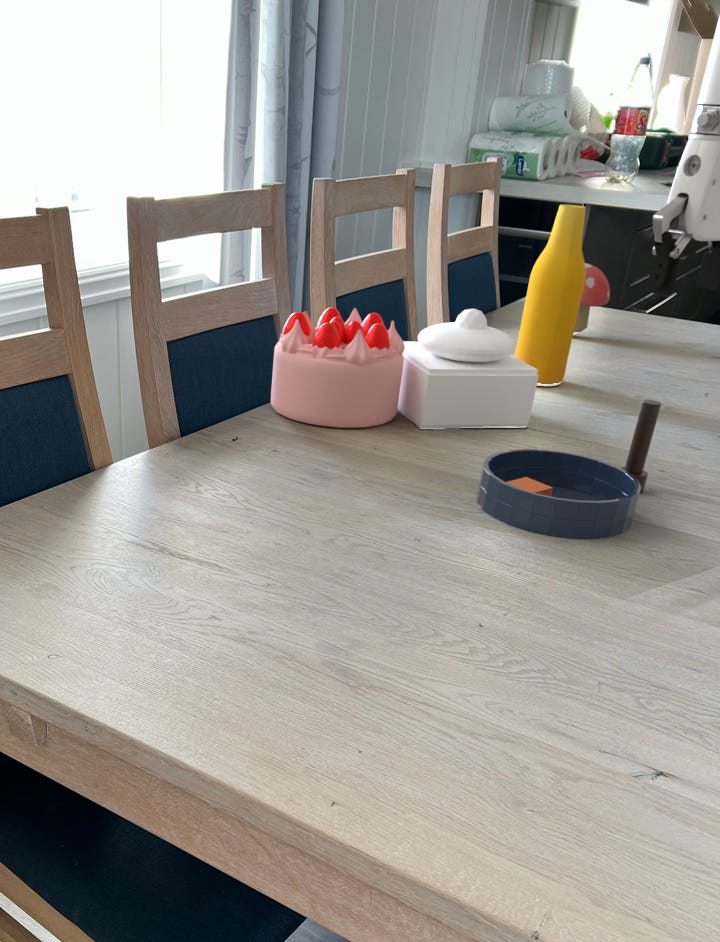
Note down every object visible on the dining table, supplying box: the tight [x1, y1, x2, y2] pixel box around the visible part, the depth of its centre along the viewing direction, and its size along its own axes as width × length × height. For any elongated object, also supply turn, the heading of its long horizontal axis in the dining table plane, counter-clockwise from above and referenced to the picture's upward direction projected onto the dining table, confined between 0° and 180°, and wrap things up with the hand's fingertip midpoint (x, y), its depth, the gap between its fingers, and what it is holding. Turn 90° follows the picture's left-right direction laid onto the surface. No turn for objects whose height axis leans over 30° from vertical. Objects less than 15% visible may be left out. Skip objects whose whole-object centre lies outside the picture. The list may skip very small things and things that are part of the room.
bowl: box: [476, 448, 641, 540], centre depth 117 cm, size 18×18×5 cm
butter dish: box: [397, 308, 539, 428], centre depth 151 cm, size 18×18×16 cm
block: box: [506, 477, 553, 496], centre depth 114 cm, size 4×4×4 cm
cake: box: [270, 306, 405, 429], centre depth 148 cm, size 20×20×14 cm
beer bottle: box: [513, 204, 586, 384], centre depth 168 cm, size 9×9×29 cm
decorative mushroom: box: [574, 262, 611, 333], centre depth 208 cm, size 13×13×15 cm
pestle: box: [620, 399, 662, 495], centre depth 123 cm, size 4×4×12 cm
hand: (683, 291), depth 114 cm, fingers open, 9 cm apart
